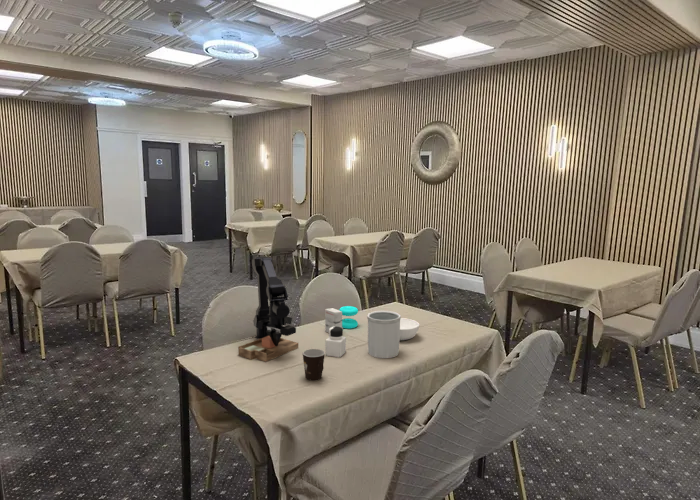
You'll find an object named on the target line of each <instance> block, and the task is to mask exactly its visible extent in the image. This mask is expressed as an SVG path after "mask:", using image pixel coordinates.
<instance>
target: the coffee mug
mask: <svg viewBox="0 0 700 500" xmlns="http://www.w3.org/2000/svg"><path fill="white" fill-rule="evenodd" d="M325 356H326V355H325V350H323V349H320V348H308V349H305V350H304V351H302V358H303V359H302V360H303V368H304V370H303V371H304V377H305V379H306V380H307V381H313V382H315V381H319V380H321V379H322V378H323V371H324V363H325Z"/></svg>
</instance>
